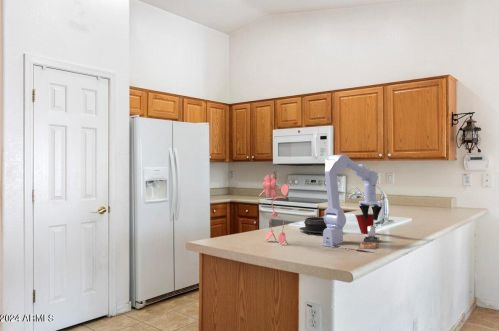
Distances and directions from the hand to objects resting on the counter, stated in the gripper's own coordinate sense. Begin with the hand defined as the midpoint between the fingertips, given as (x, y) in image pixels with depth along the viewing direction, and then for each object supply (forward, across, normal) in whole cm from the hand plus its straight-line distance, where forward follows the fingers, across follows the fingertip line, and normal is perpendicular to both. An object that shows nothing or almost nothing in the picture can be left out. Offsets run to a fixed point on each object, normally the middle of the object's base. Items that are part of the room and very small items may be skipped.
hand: (370, 219), depth 200 cm
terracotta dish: (+8, -19, +23) cm, 31 cm away
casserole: (+10, +30, +10) cm, 34 cm away
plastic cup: (+10, +7, -5) cm, 13 cm away
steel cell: (+9, -10, +11) cm, 17 cm away
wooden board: (+10, -15, +17) cm, 24 cm away
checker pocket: (+9, -10, +11) cm, 17 cm away
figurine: (+10, +20, +50) cm, 55 cm away
